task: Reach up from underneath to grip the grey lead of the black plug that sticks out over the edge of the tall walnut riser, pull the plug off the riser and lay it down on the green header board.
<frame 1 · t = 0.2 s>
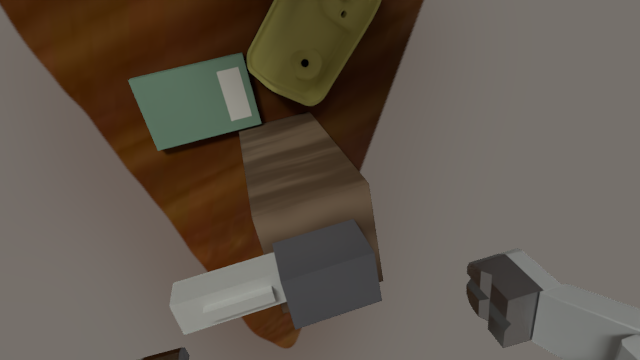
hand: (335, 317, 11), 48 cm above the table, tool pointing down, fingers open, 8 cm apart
header board: (199, 101, 53), on the table
plug: (318, 253, 37), point 26 cm above the table, touching riser
riser: (283, 156, 60), on the table
plastic component: (313, 28, 53), on the table
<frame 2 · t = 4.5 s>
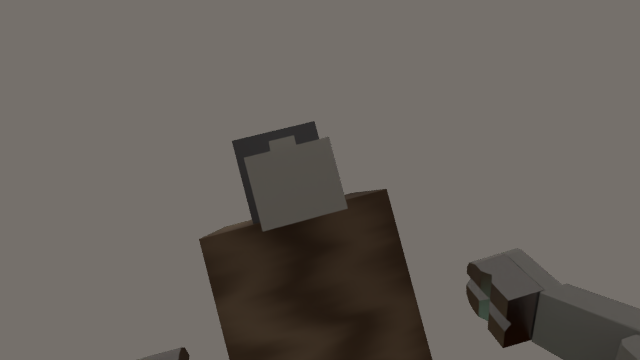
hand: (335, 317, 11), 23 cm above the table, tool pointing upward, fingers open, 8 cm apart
plug: (292, 211, 28), point 26 cm above the table, touching riser
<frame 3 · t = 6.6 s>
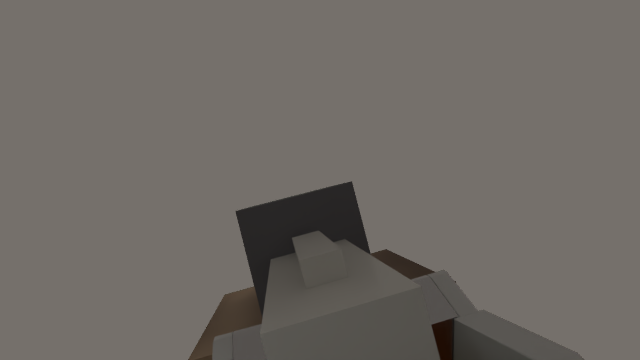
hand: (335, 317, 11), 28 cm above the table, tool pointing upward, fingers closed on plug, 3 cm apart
plug: (316, 291, 21), point 26 cm above the table, touching gripper, riser
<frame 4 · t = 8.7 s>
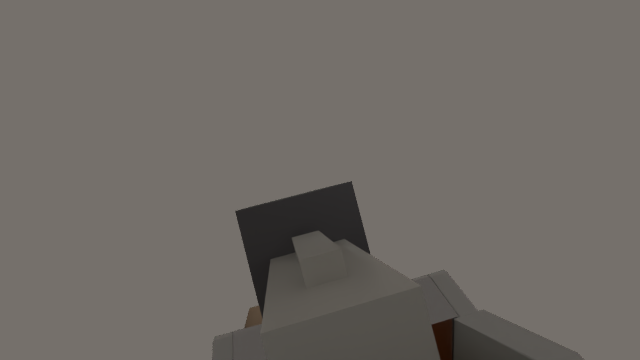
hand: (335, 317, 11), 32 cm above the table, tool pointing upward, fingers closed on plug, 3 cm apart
plug: (315, 291, 21), point 30 cm above the table, touching gripper
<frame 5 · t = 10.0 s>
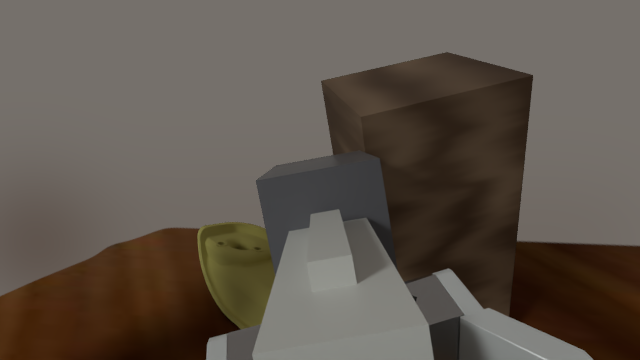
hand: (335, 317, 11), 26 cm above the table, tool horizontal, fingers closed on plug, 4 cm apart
plug: (335, 259, 21), point 20 cm above the table, tilted 21°, touching gripper
riser: (424, 314, 41), on the table
plastic component: (271, 289, 49), on the table
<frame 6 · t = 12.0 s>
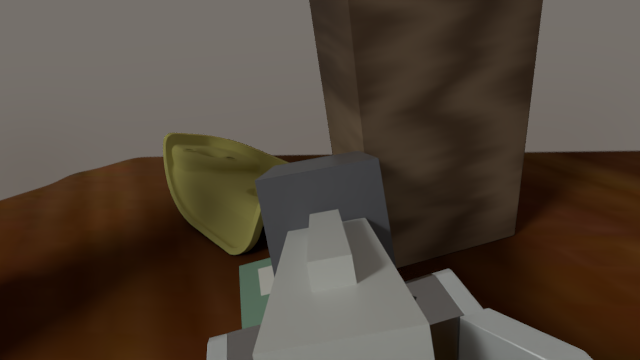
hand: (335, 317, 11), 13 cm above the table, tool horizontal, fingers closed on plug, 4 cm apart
header board: (321, 334, 26), on the table
plug: (333, 259, 21), point 7 cm above the table, tilted 22°, touching gripper
riser: (417, 217, 35), on the table
plastic component: (244, 202, 43), on the table
when the fingers open (11 cm above the table, at t = 12.7 s): plug drops 4 cm, resting on header board.
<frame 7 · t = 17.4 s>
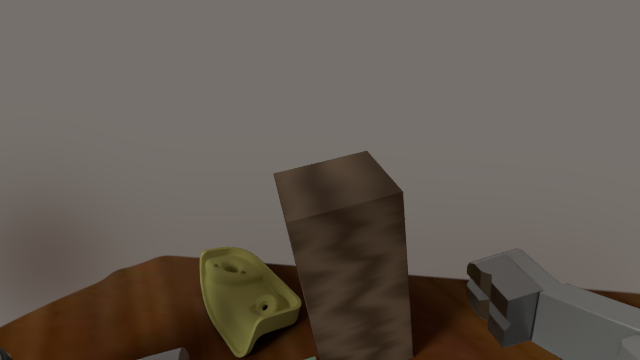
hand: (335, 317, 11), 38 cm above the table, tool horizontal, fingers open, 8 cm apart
riser: (357, 337, 54), on the table
plastic component: (250, 305, 64), on the table
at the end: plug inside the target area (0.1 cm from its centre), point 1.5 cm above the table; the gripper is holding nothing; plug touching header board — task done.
